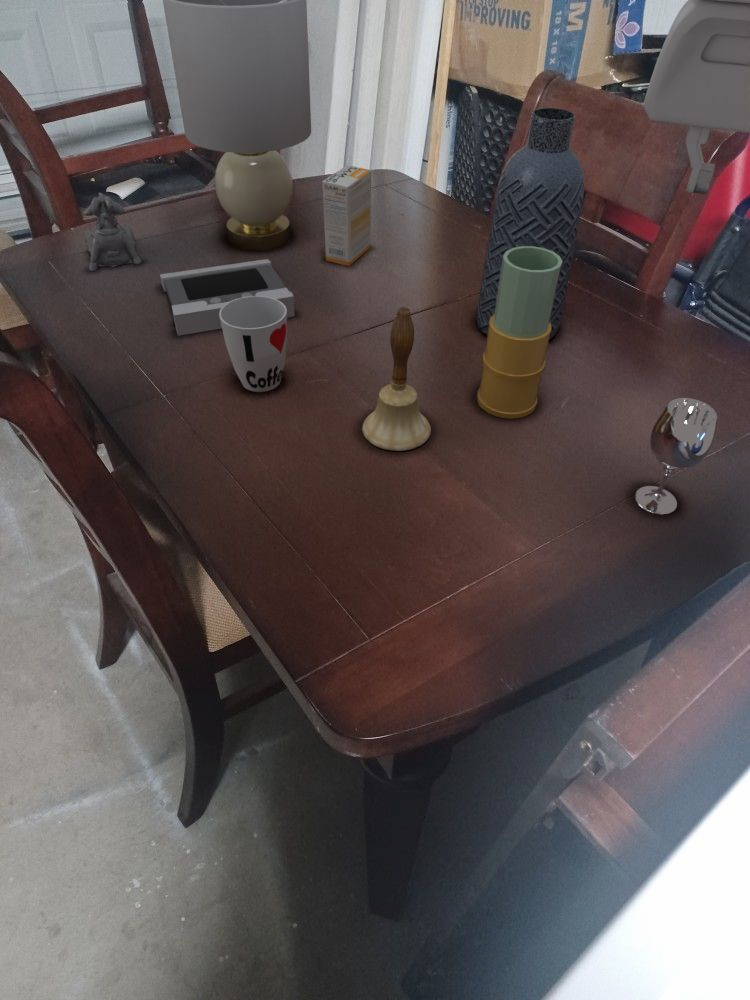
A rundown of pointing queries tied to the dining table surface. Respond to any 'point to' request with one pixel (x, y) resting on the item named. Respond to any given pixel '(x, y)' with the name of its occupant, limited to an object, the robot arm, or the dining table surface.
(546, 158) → the vase
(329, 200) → the supplement box
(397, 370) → the hand bell
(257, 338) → the cup
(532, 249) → the sage cup
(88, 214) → the figurine
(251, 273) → the alarm clock
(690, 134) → the robot arm
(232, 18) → the lamp
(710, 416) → the wineglass
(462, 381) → the dining table surface
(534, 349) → the cup stack
